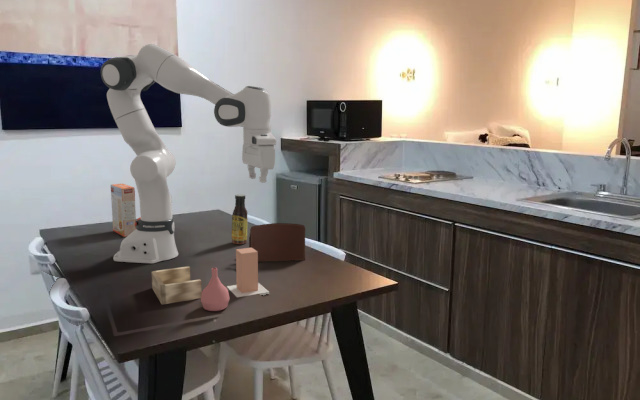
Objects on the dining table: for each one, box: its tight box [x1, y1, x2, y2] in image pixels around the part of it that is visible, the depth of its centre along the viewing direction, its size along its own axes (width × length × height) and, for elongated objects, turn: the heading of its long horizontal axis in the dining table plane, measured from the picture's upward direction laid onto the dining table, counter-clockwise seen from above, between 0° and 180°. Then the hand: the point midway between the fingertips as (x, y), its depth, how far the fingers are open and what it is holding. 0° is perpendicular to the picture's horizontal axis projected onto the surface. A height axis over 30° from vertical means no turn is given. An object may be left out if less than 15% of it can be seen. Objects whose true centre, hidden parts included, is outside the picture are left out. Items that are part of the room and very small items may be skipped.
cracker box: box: [110, 183, 137, 238], centre depth 218 cm, size 14×6×21 cm, turn 39°
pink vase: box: [200, 267, 230, 312], centre depth 138 cm, size 8×8×12 cm
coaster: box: [225, 282, 270, 298], centre depth 153 cm, size 10×10×1 cm
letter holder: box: [248, 222, 306, 263], centre depth 187 cm, size 10×20×14 cm, turn 101°
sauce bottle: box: [231, 193, 249, 245], centre depth 205 cm, size 7×6×20 cm
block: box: [235, 247, 259, 293], centre depth 152 cm, size 5×5×12 cm
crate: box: [150, 266, 203, 305], centre depth 149 cm, size 11×14×6 cm
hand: (257, 180), depth 166 cm, fingers open, 8 cm apart
